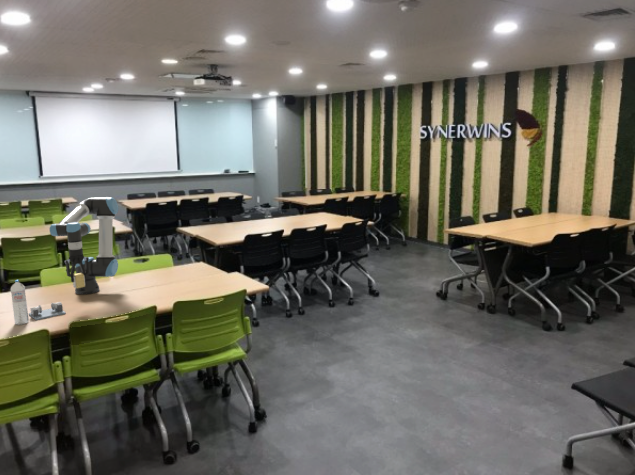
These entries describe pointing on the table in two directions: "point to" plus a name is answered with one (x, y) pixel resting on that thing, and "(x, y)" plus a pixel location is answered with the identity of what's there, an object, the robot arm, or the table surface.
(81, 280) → the pale yellow block
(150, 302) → the table surface
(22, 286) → the water bottle
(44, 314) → the shaft bench
